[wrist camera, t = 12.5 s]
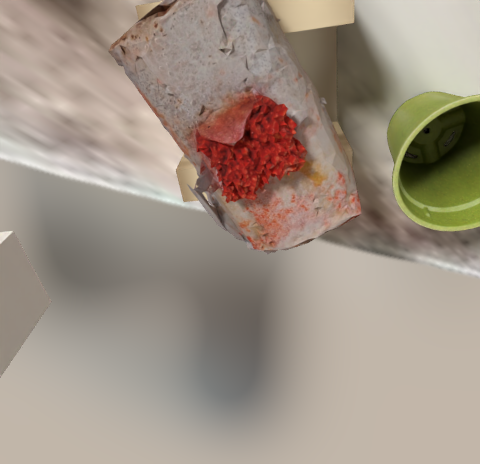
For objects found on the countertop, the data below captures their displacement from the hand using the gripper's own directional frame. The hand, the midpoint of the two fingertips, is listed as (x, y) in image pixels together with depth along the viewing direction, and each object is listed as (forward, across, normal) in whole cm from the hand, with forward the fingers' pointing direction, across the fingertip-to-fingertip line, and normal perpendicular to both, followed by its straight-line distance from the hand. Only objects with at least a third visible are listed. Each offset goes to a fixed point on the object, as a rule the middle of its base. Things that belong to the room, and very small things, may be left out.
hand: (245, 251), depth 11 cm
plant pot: (+24, -13, +6) cm, 28 cm away
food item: (+16, +1, 0) cm, 16 cm away
